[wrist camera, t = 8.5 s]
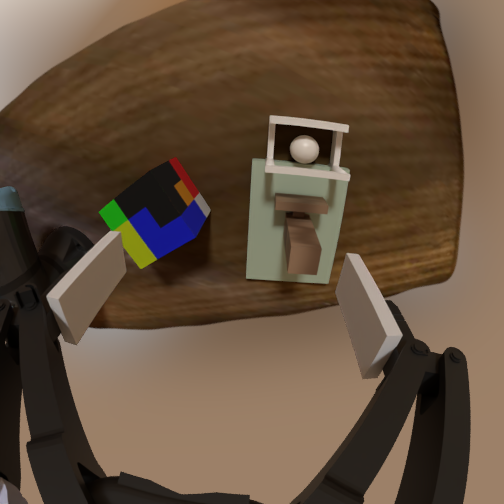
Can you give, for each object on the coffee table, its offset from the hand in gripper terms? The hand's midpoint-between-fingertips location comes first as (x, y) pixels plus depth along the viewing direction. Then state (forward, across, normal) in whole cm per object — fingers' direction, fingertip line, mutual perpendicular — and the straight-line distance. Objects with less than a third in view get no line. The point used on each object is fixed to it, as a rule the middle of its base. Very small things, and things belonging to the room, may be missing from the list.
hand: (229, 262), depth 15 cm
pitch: (+27, +8, -5) cm, 28 cm away
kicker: (+25, +8, -6) cm, 27 cm away
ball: (+25, +7, +4) cm, 26 cm away
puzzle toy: (+27, -12, -6) cm, 31 cm away
